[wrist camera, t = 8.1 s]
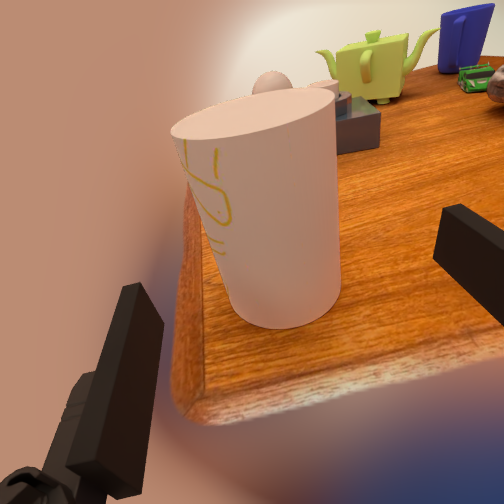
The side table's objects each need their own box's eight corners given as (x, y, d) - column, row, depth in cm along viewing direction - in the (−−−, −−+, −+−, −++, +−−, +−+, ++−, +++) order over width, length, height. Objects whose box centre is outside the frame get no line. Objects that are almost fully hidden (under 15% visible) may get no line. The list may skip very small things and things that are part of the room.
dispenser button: (309, 108, 38) (308, 89, 37) (306, 101, 42) (305, 84, 40) (341, 101, 38) (341, 82, 37) (336, 95, 41) (335, 77, 40)
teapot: (317, 105, 61) (313, 43, 55) (372, 88, 64) (374, 26, 57) (368, 115, 49) (371, 37, 43) (433, 93, 52) (444, 16, 45)
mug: (424, 82, 59) (431, 19, 53) (438, 68, 65) (446, 11, 60) (474, 78, 54) (489, 8, 48) (483, 63, 61) (497, 1, 55)
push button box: (285, 163, 40) (278, 116, 36) (283, 140, 48) (277, 99, 44) (379, 147, 38) (382, 95, 35) (360, 125, 46) (361, 82, 42)
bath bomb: (254, 116, 64) (246, 74, 59) (290, 108, 64) (285, 64, 59) (259, 125, 58) (250, 79, 53) (299, 116, 57) (295, 68, 53)
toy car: (500, 90, 46) (504, 73, 45) (463, 94, 48) (466, 78, 47) (486, 76, 53) (490, 61, 52) (455, 81, 55) (457, 66, 54)
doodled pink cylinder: (229, 260, 26) (182, 111, 18) (324, 241, 25) (312, 80, 18) (229, 339, 19) (155, 154, 12) (357, 316, 18) (360, 108, 11)
